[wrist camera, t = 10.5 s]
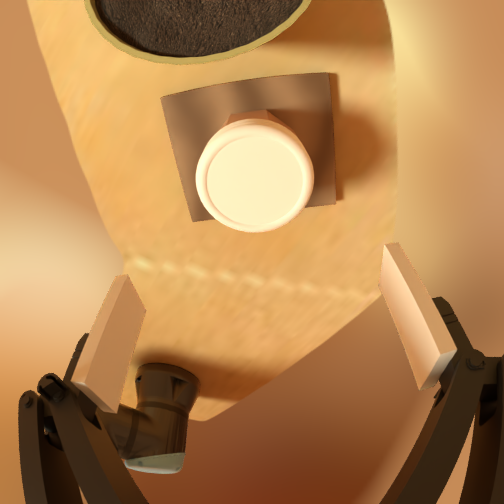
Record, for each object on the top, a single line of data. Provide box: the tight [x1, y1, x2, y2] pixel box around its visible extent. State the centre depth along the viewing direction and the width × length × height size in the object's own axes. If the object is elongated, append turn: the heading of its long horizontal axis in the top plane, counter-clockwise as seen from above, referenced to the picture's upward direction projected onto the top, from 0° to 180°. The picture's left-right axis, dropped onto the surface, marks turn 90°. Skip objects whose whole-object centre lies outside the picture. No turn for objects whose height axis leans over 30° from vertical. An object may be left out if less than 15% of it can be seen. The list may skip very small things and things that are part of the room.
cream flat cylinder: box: [196, 119, 314, 232], centre depth 26 cm, size 10×10×4 cm
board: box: [161, 73, 336, 222], centre depth 33 cm, size 18×16×1 cm
